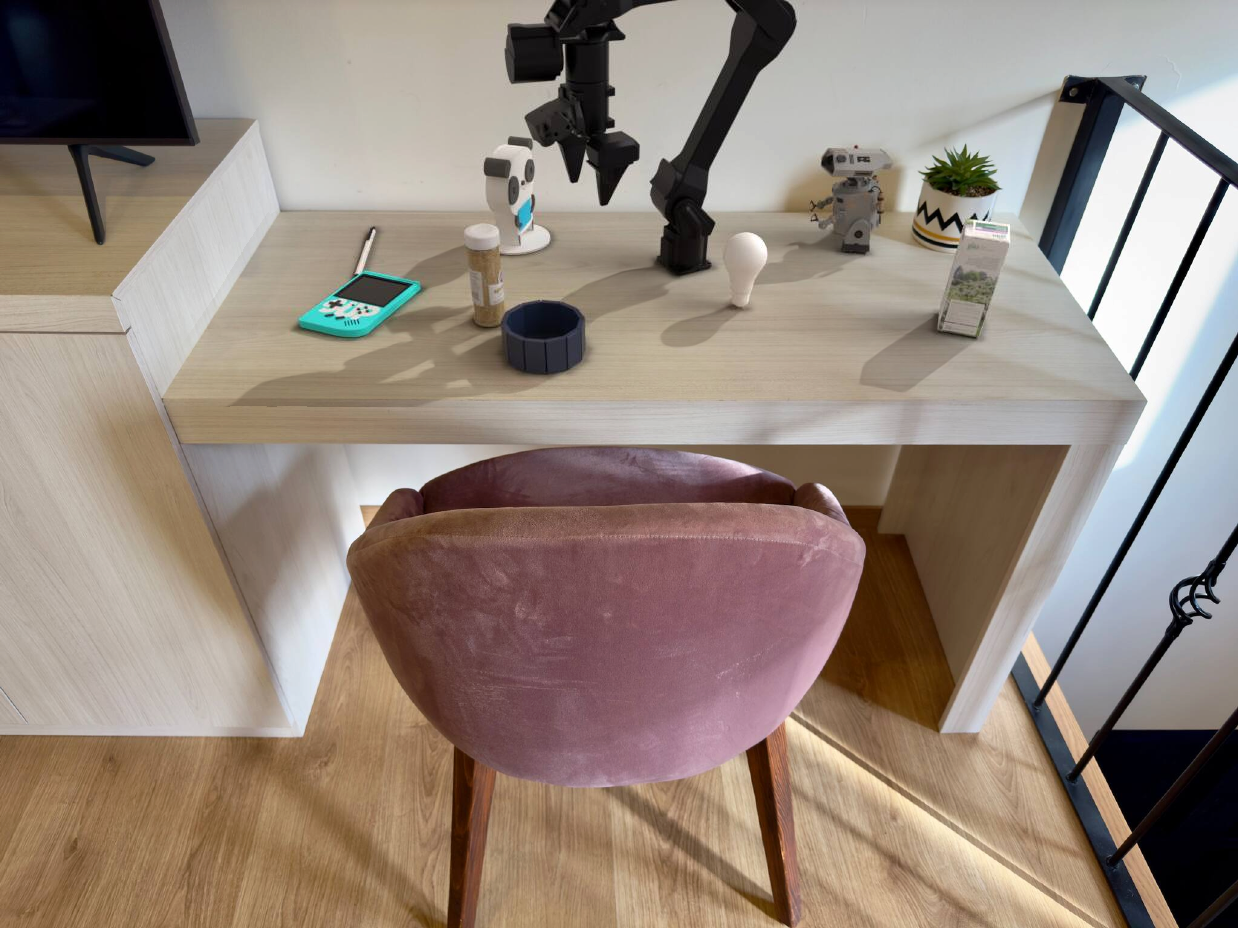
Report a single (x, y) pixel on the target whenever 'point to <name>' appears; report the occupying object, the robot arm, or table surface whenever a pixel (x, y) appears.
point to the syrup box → (973, 277)
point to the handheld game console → (360, 305)
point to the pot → (543, 336)
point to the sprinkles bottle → (485, 273)
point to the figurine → (854, 194)
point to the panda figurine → (514, 197)
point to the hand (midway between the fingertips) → (588, 193)
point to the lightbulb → (743, 264)
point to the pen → (365, 251)
